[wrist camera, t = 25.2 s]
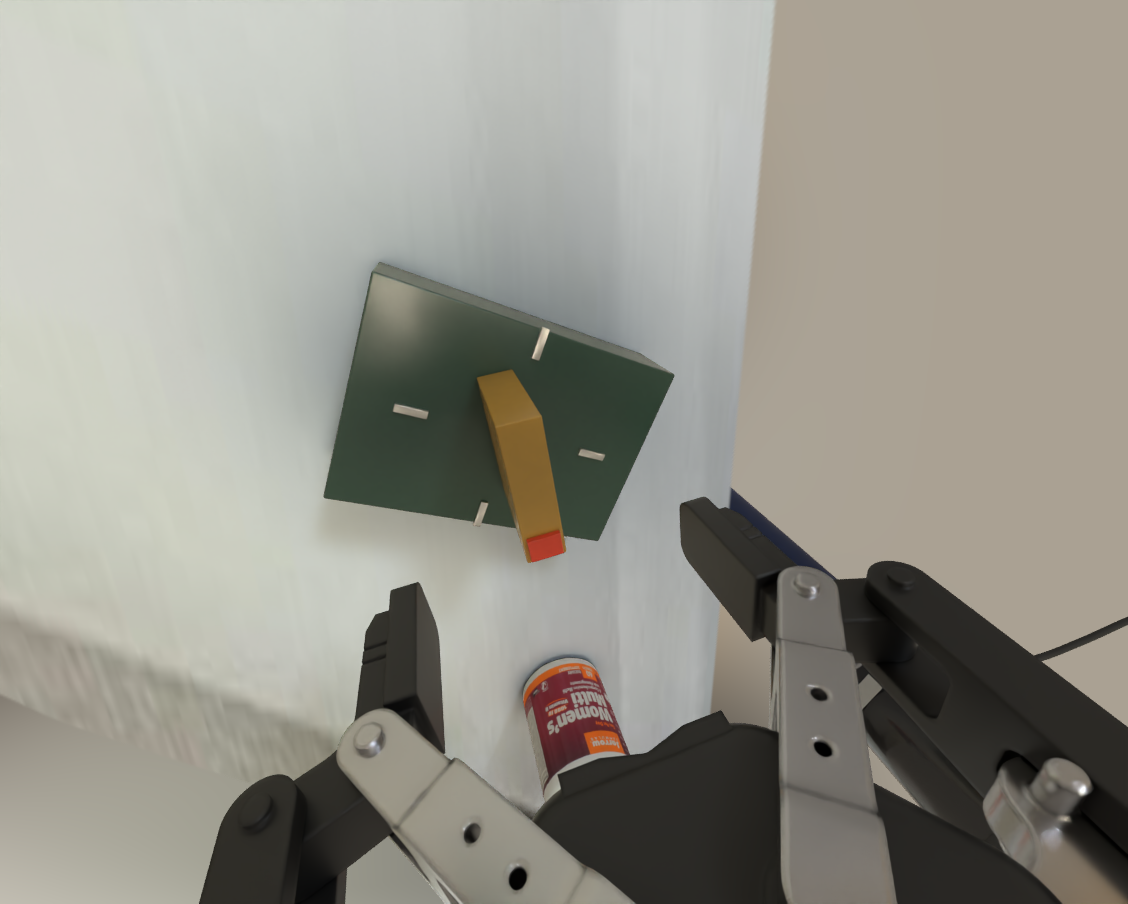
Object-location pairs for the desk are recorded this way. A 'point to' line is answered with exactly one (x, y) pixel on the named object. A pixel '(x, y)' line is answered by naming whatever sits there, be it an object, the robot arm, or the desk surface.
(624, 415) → the dark green block
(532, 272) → the desk surface
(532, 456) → the mustard yellow slab
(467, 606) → the desk surface
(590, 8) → the desk surface
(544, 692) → the pill bottle
